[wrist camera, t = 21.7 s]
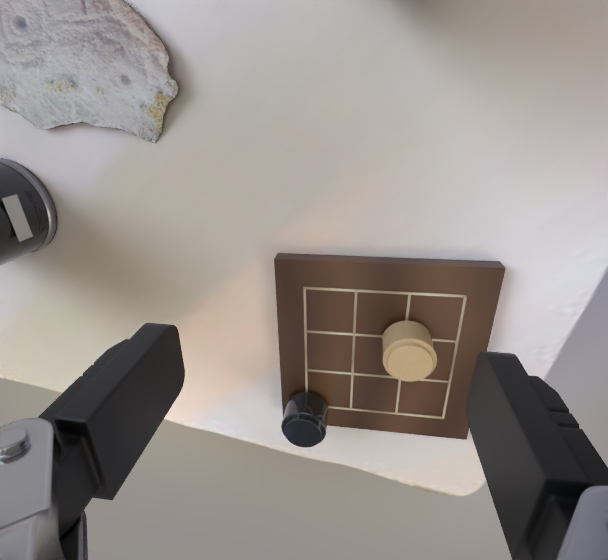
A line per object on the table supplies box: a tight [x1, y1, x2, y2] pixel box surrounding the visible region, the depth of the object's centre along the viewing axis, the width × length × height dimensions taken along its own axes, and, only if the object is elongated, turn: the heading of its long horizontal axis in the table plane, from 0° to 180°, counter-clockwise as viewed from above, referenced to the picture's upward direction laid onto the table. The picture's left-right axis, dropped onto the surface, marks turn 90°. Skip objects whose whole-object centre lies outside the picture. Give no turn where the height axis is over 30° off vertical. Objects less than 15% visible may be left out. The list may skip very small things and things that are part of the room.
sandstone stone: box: [382, 321, 437, 382], centre depth 34 cm, size 5×5×4 cm
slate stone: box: [281, 392, 329, 447], centre depth 40 cm, size 5×5×4 cm
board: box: [274, 253, 505, 439], centre depth 38 cm, size 20×20×2 cm
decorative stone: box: [0, 0, 179, 143], centre depth 31 cm, size 20×14×1 cm
